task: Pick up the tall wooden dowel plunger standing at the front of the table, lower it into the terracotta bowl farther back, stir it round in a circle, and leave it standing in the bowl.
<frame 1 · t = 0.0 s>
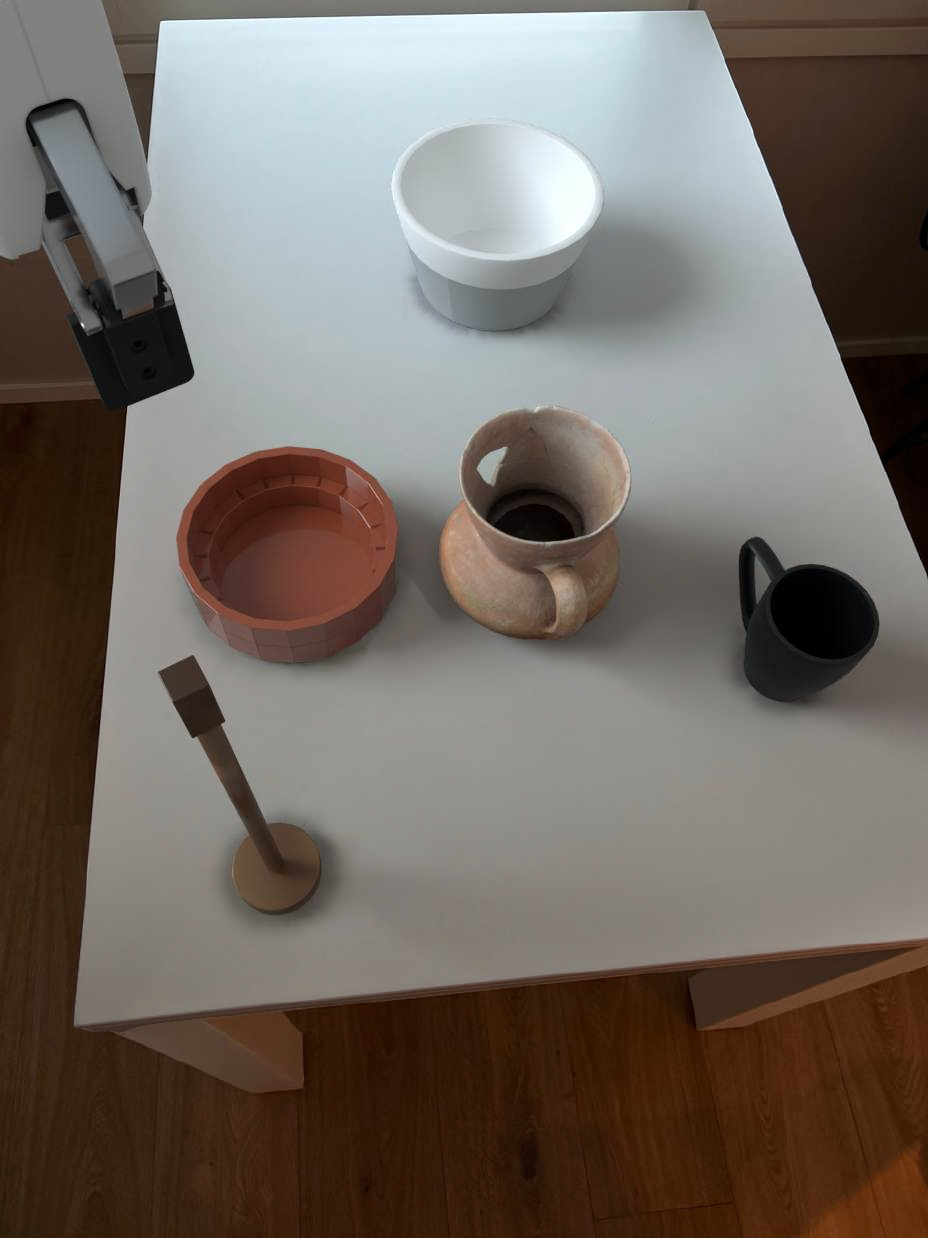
hand: (96, 300, 35), 42 cm above the table, tool pointing down, fingers open, 9 cm apart
bowl: (489, 280, 96), on the table
wooden dowel plunger: (278, 871, 67), on the table
mug: (763, 651, 78), on the table
mixing bowl: (296, 573, 79), on the table
ceramic jug: (526, 582, 80), on the table
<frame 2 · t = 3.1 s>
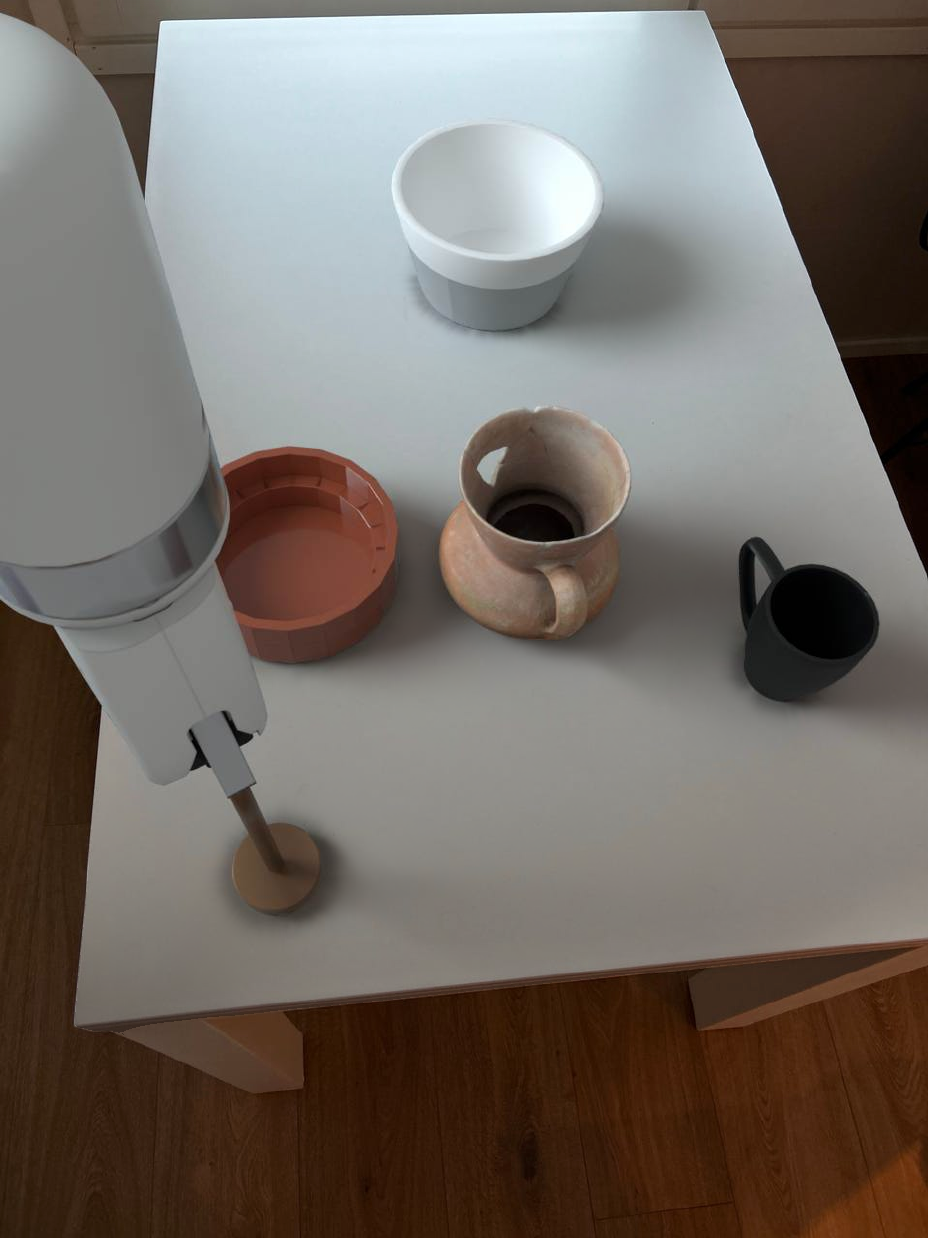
hand: (208, 728, 44), 27 cm above the table, tool pointing down, fingers closed on wooden dowel plunger
wooden dowel plunger: (279, 871, 67), on the table, touching gripper
everything else where it was.
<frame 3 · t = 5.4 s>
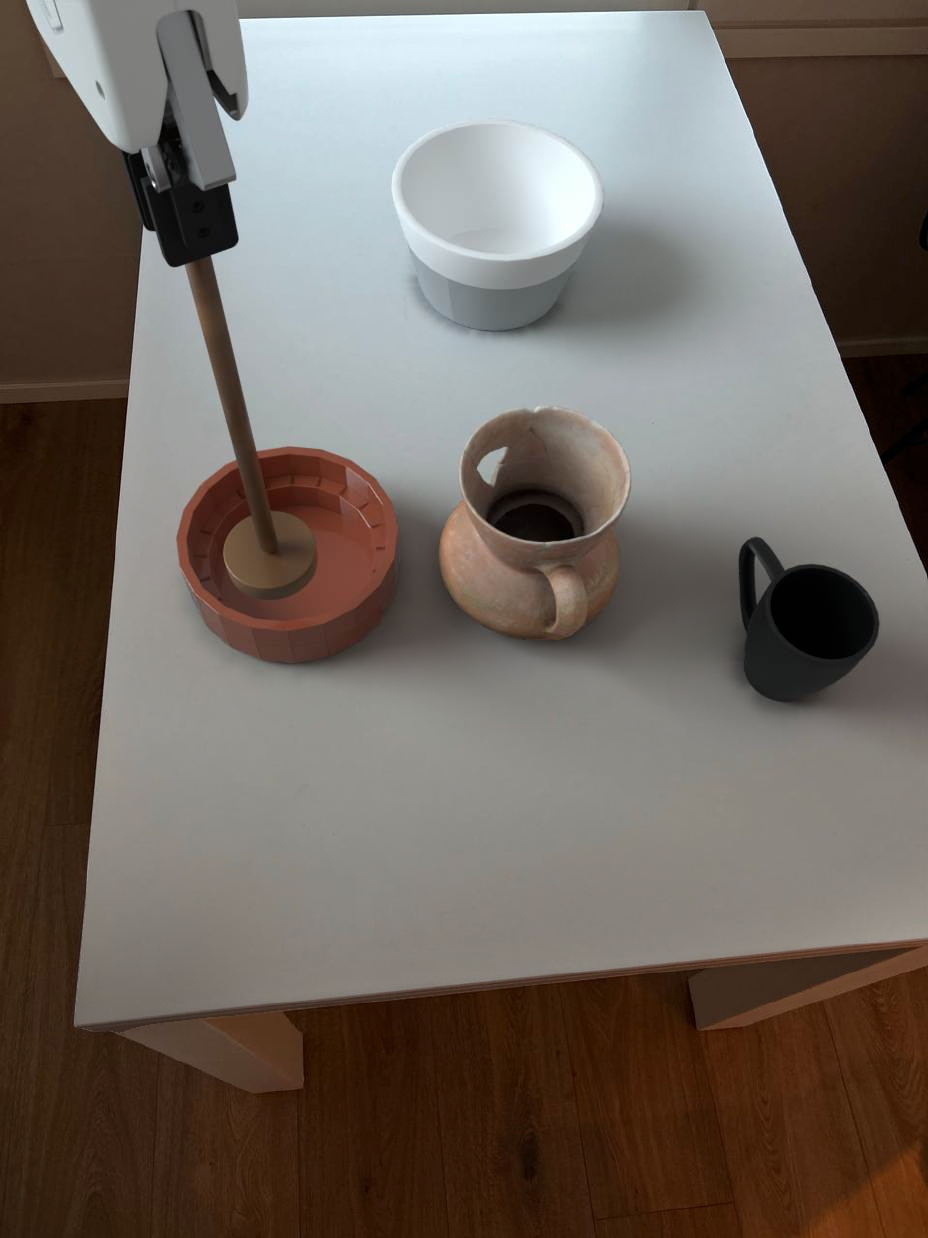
hand: (190, 233, 41), 39 cm above the table, tool pointing down, fingers closed on wooden dowel plunger
wooden dowel plunger: (272, 561, 64), point 13 cm above the table, touching gripper
everything else where it was.
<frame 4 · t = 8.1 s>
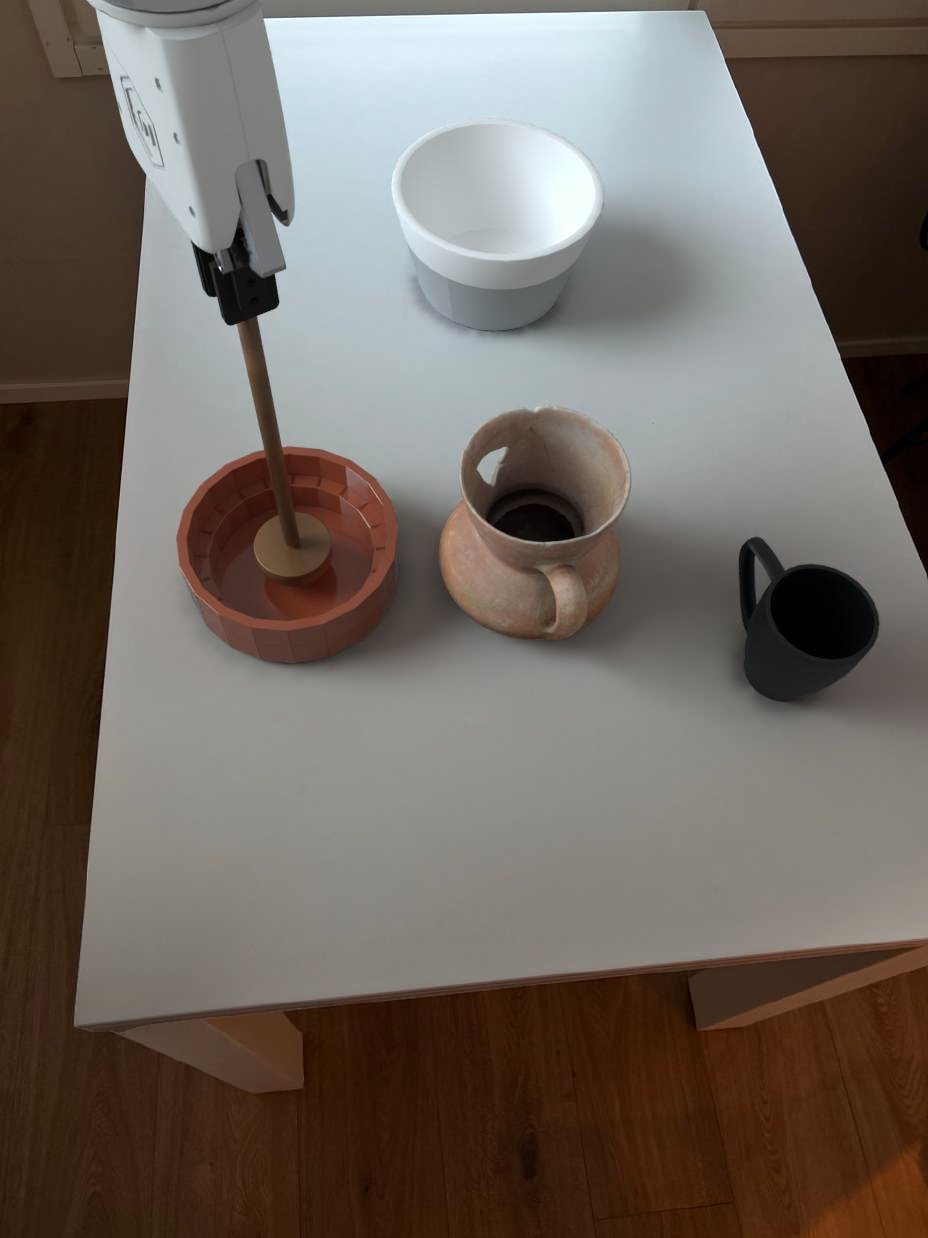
hand: (241, 298, 53), 29 cm above the table, tool pointing down, fingers closed on wooden dowel plunger
wooden dowel plunger: (294, 554, 76), point 3 cm above the table, touching gripper
everything else where it was.
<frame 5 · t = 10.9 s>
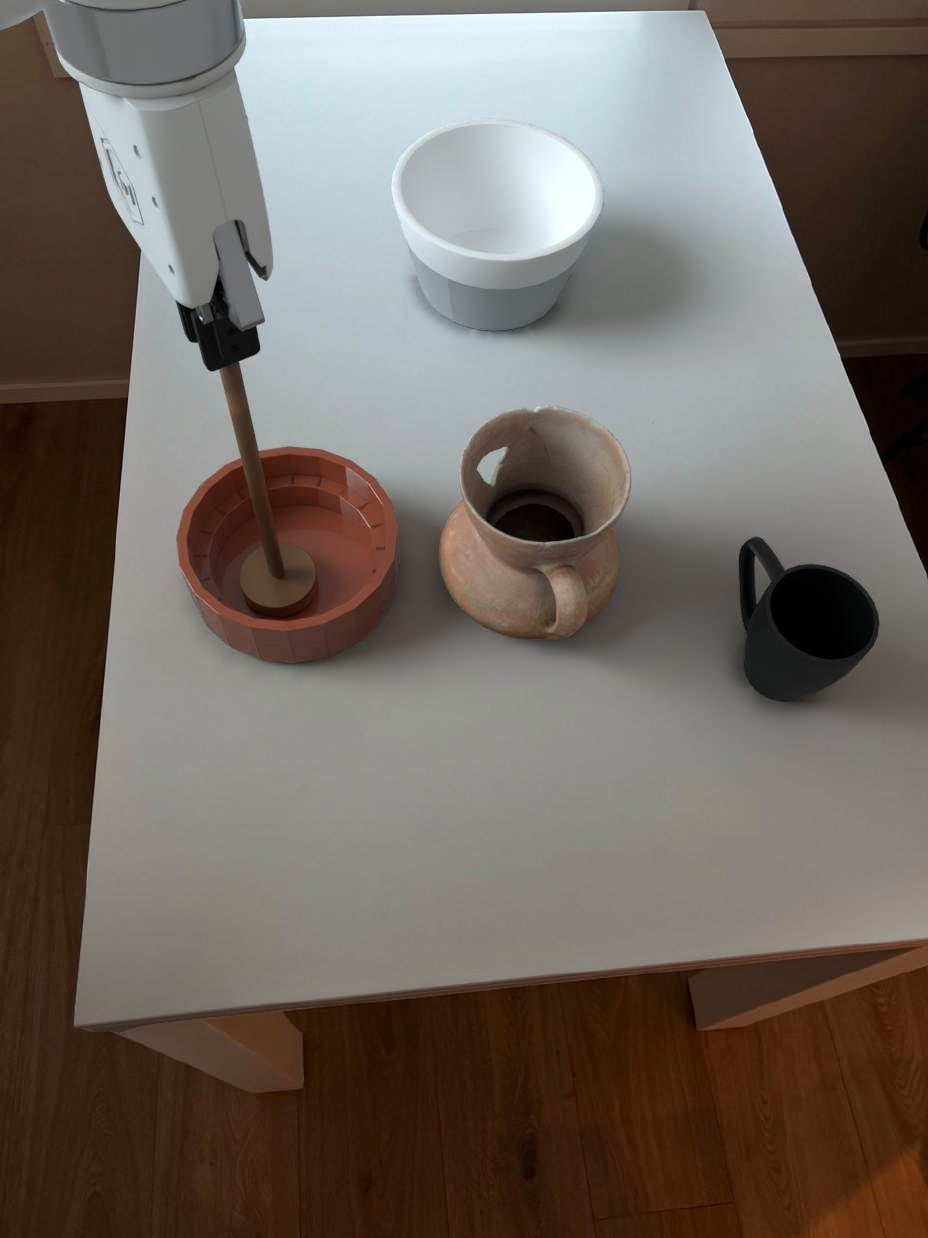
hand: (223, 343, 54), 27 cm above the table, tool pointing down, fingers closed on wooden dowel plunger
wooden dowel plunger: (280, 584, 77), point 1 cm above the table, touching gripper
everything else where it was.
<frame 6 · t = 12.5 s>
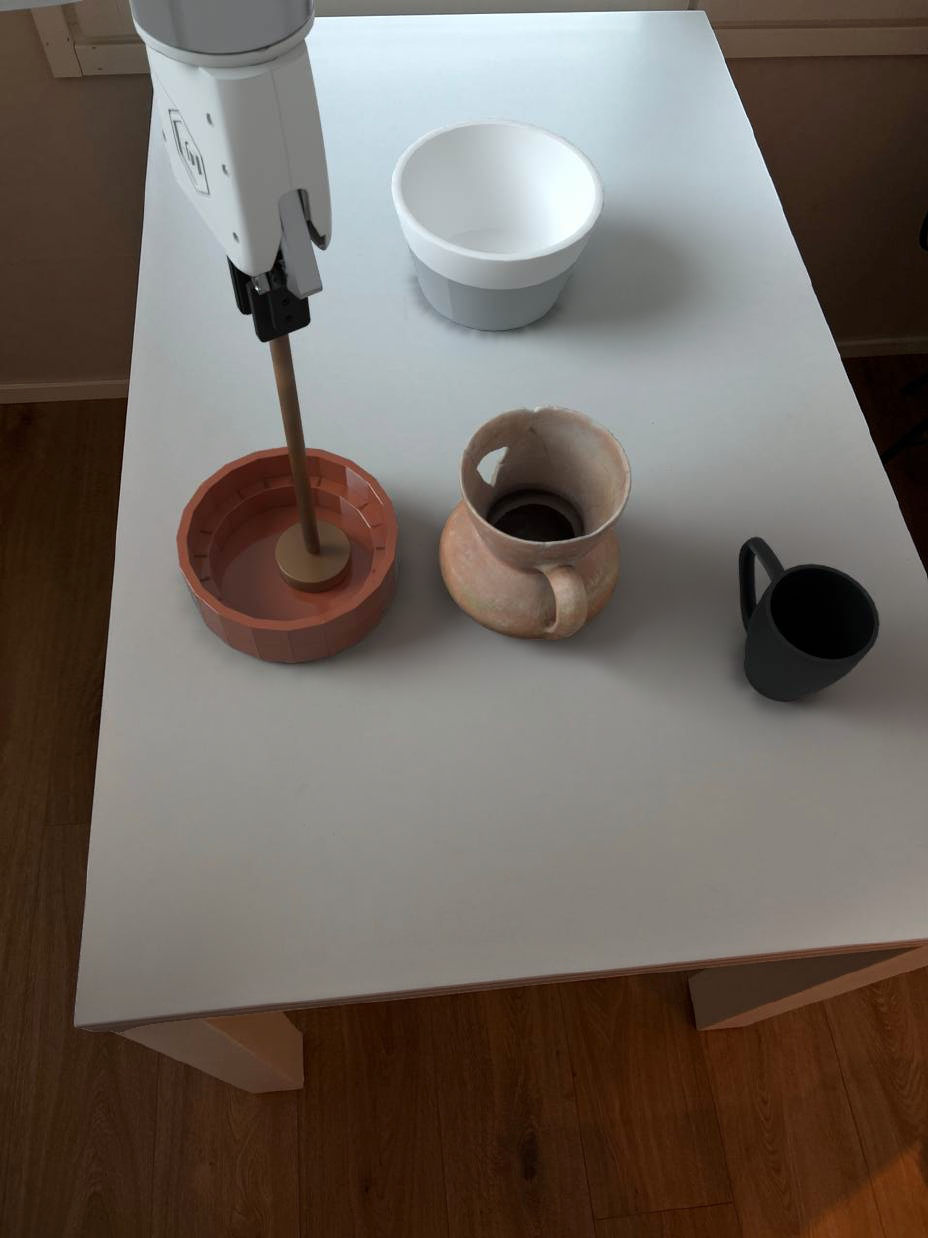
hand: (274, 316, 55), 27 cm above the table, tool pointing down, fingers closed on wooden dowel plunger
wooden dowel plunger: (314, 560, 79), point 1 cm above the table, touching gripper
everything else where it was.
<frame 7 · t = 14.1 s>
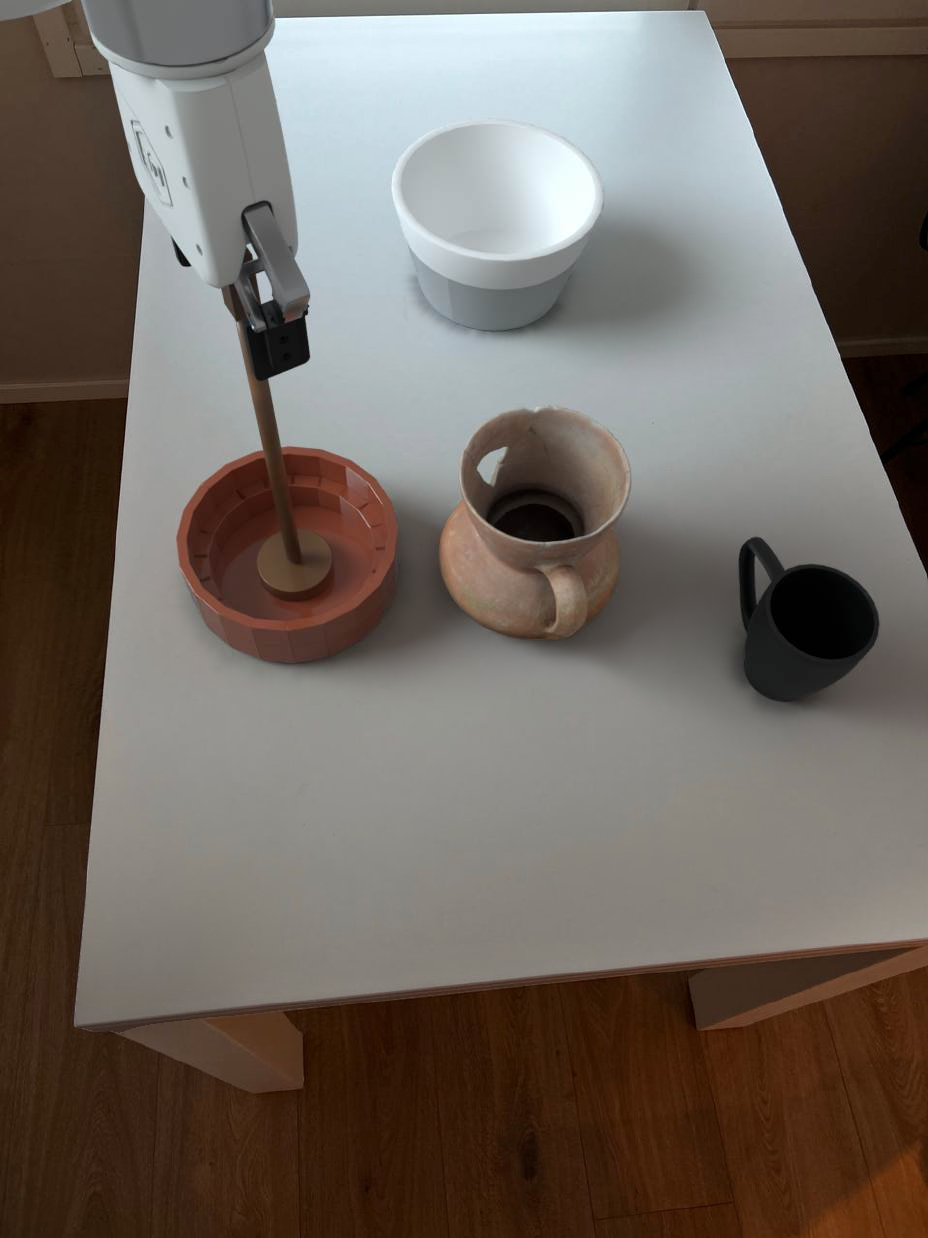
hand: (242, 310, 54), 28 cm above the table, tool pointing down, fingers open, 9 cm apart
wooden dowel plunger: (296, 569, 78), point 1 cm above the table, touching mixing bowl
everything else where it was.
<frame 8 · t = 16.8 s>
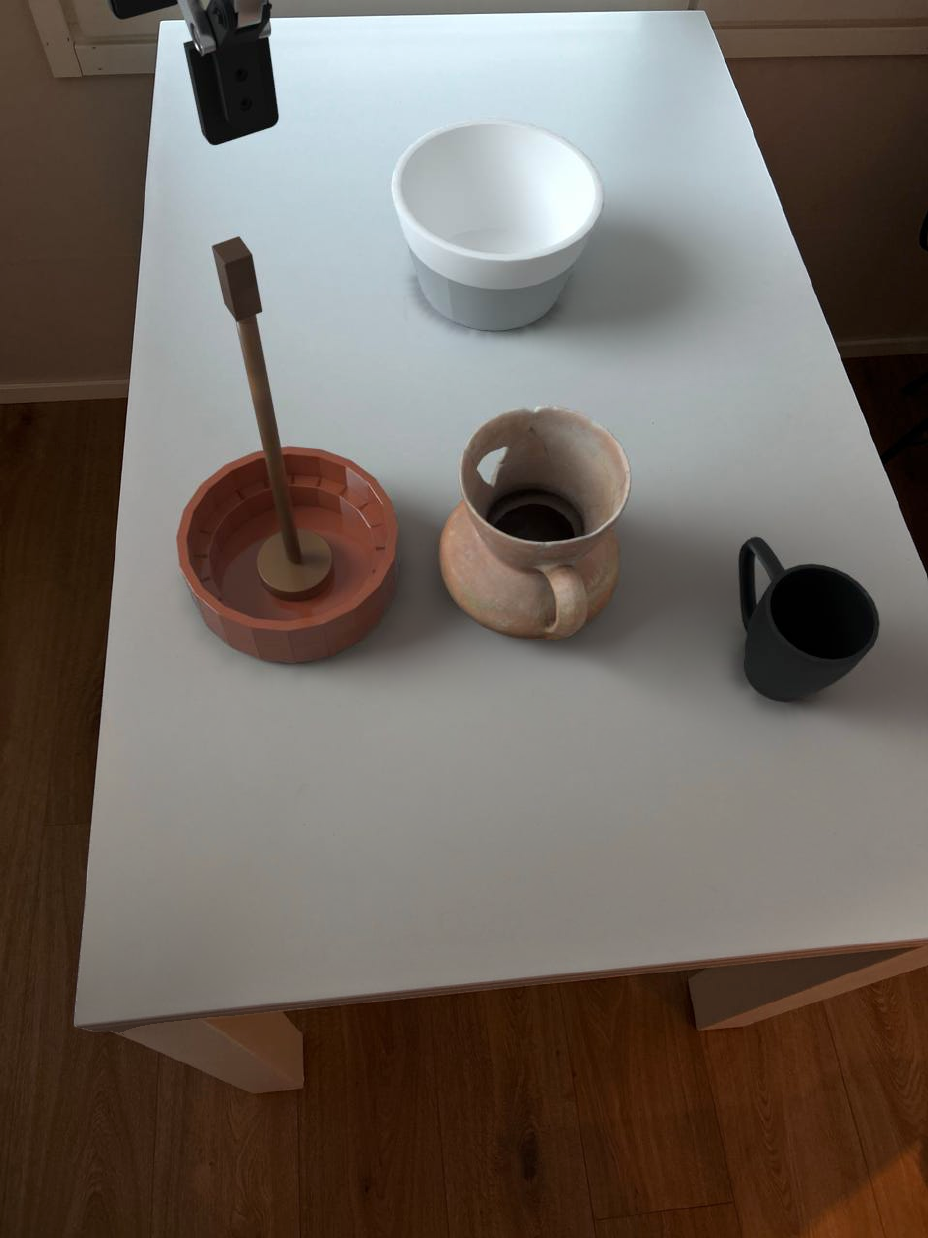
hand: (192, 67, 42), 42 cm above the table, tool pointing down, fingers open, 9 cm apart
nothing on the table moved.
at the end: wooden dowel plunger 0.1 cm off-centre in the mixing bowl, point 0.6 cm above the mixing bowl's base; wooden dowel plunger tilted 0°; wooden dowel plunger moved 24.2 cm from its start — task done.
